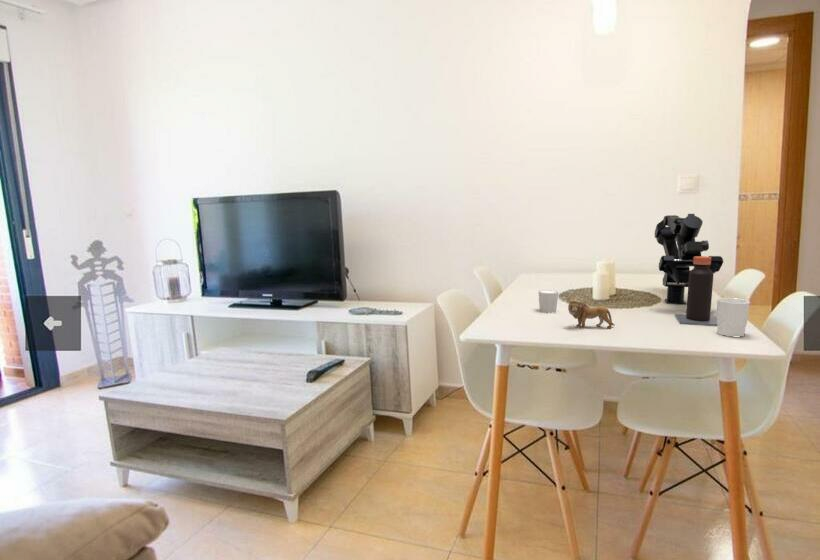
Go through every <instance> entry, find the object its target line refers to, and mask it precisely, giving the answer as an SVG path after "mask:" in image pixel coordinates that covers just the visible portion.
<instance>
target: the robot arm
mask: <svg viewBox="0 0 820 560" xmlns="http://www.w3.org/2000/svg"><path fill="white" fill-rule="evenodd" d="M703 221H704V220H702V219H701V217H699V216H696V215H695V213H687V216H686V217H680V216H679V215H676V214H674V215H671V214H670V215H664V216H663V218H662V220H661V221H660V222H658V223H657V224H656V226H655V230H654V238H655V239H656V242H657V243H658V244H659V245H661V246H662V247H663V251H664V254H665V255H662V256H661V257H660V259H659V262H658V270H659V272H663V273H664V274H663V277H662V286H664V287H666V288H667V289H666V290H667V292H666V298H664V302H665V303H666V304H677V305H678V304H679V305H680V304H681V305H687V301H686V300H685V289H686V288H688V282H689V272H690V271H691V269H690V267H693V268H694V265H693V258H694V257H695V256H702V252H707V251H708V250H709V248H710V246H709V243H710V242H709V241H708V240H701V241H696V238H698V235H699V233H700V231H701V228H702V227H703ZM708 257H711V264H710V265H711V266H709V269H710V270H711V271H712V272H713V275H714V274H716V273H718V272H719V271H720V270H721V268H722V266H723V264H724V258H723V257H722V256H721V255H708Z"/></svg>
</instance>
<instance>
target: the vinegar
mask: <svg viewBox="0 0 820 560" xmlns="http://www.w3.org/2000/svg"><path fill="white" fill-rule="evenodd" d="M710 264H711V257H709V256H703V255H701V256H695V257H694V258H693V265H694V267H693V268H692V269H690V272H689V282H688V287H687V298H686V299H687V300H686V312H685V314H686V318H688V319H690V320H695V321H708V320H710V316H711V311H712V297H713V286H714V274H713V272H712V271H711V270H710V269H709V266H711V265H710Z"/></svg>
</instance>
